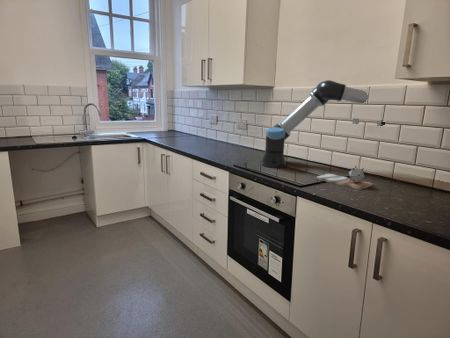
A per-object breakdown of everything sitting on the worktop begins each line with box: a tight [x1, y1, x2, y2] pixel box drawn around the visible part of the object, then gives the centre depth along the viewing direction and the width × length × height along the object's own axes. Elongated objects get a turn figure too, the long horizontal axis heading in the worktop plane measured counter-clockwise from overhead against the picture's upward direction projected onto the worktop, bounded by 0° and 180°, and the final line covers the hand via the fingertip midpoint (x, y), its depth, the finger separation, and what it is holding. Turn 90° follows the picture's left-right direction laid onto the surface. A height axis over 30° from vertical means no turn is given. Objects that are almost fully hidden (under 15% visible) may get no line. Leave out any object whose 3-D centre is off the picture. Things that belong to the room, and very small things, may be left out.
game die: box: [346, 166, 367, 184], centre depth 153 cm, size 9×8×10 cm
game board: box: [315, 173, 373, 191], centre depth 159 cm, size 25×13×1 cm, turn 41°
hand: (365, 122), depth 168 cm, fingers open, 13 cm apart
